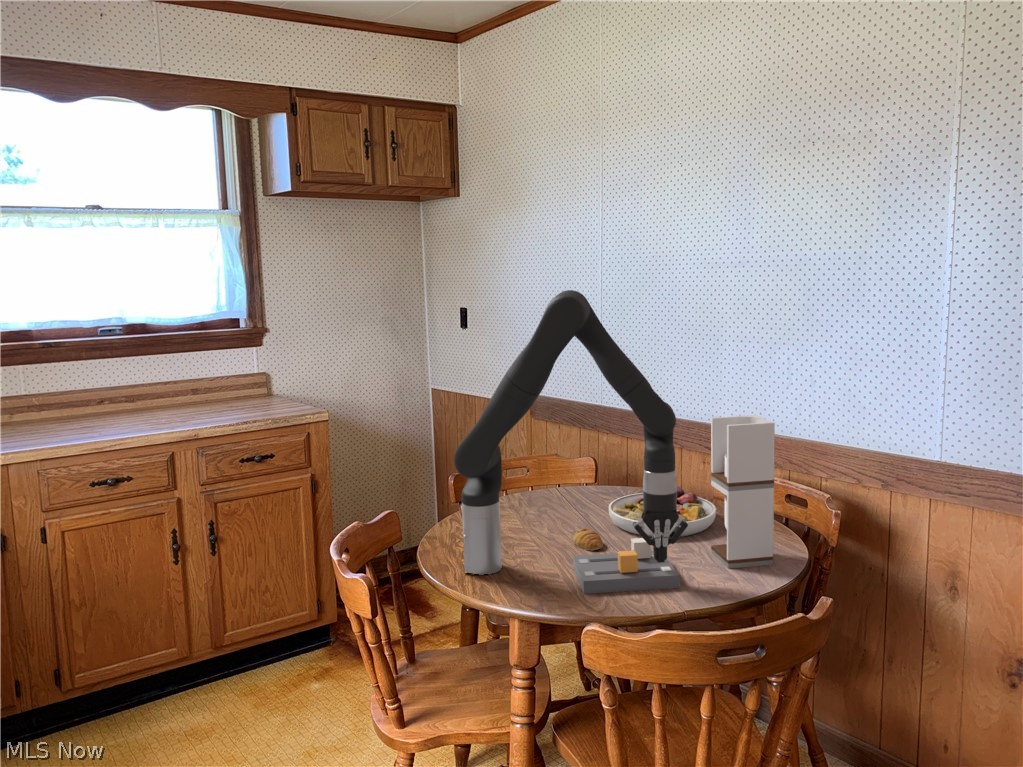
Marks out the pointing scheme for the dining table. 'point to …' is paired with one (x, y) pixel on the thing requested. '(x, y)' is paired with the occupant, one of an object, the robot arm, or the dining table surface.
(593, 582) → the switch panel
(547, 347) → the robot arm
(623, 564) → the slider
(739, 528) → the white upright stand
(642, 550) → the on slider
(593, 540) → the pastry
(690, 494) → the bowl
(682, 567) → the dining table surface
